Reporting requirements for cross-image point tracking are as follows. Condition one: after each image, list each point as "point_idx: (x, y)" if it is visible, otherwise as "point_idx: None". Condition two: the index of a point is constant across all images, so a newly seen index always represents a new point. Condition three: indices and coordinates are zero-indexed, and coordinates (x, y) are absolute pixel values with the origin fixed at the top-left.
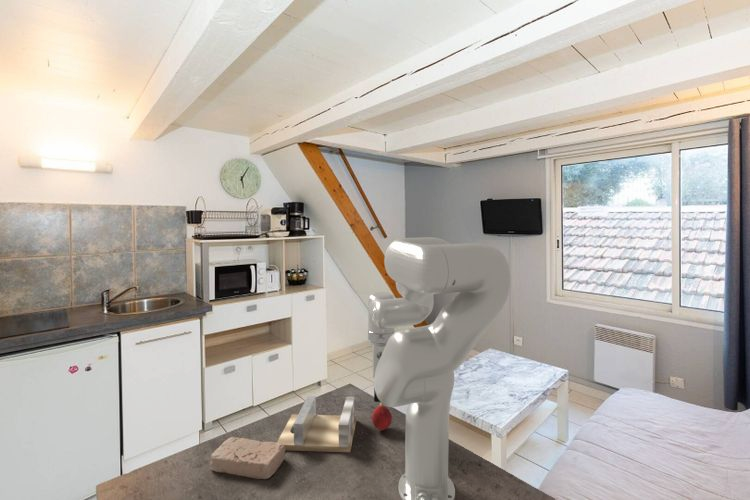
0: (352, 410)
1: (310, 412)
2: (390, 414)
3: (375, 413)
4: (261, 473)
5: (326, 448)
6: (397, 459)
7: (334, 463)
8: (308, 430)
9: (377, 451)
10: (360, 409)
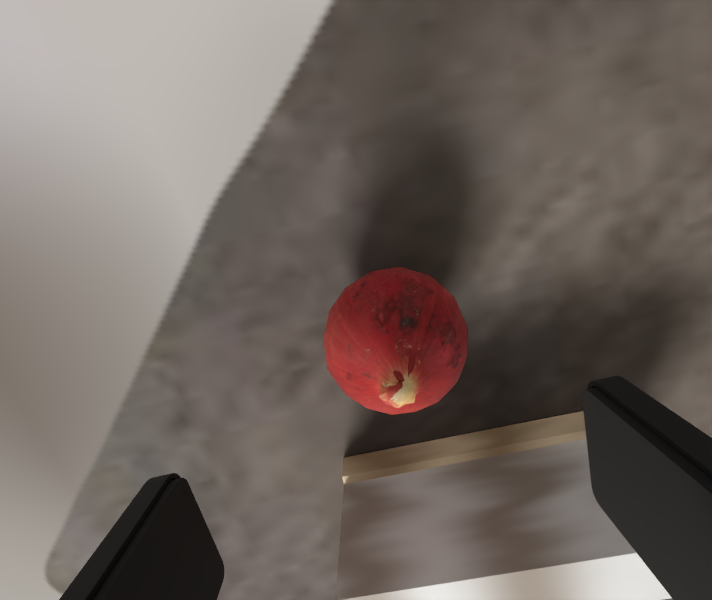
0: (462, 546)
1: None
2: (395, 287)
3: (443, 395)
4: None
5: None
6: (643, 153)
7: None
8: None
9: (586, 281)
10: (233, 470)
